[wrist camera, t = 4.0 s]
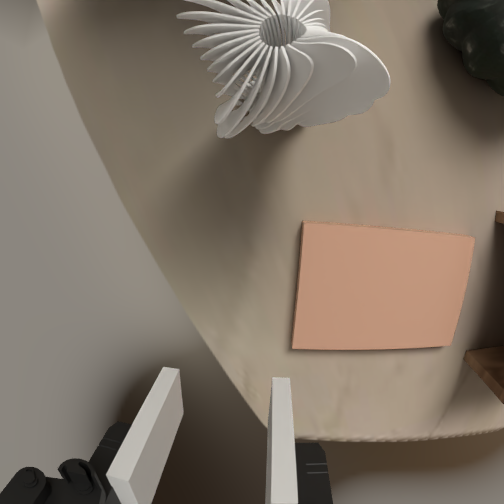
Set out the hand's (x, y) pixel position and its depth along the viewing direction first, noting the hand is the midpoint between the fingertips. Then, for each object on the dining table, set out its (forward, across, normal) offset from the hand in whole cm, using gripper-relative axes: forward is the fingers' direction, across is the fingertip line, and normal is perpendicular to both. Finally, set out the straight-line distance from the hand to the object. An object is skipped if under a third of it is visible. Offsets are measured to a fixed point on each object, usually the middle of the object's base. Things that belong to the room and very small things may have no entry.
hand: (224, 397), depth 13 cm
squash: (+17, +24, +28) cm, 41 cm away
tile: (+17, +14, 0) cm, 22 cm away
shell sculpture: (+17, +2, +16) cm, 23 cm away
